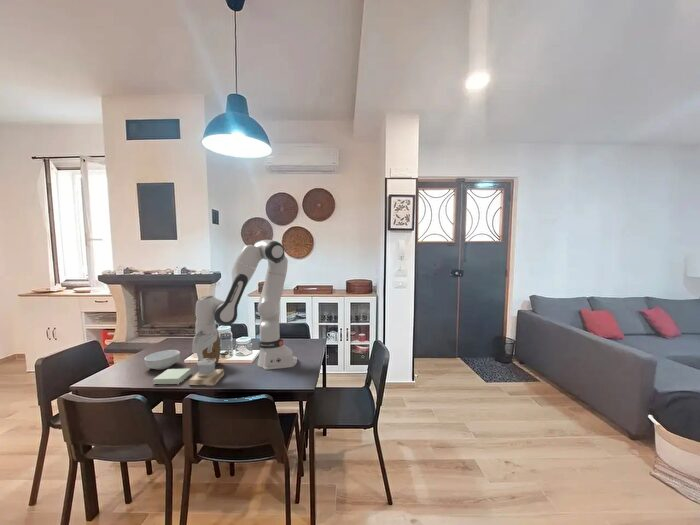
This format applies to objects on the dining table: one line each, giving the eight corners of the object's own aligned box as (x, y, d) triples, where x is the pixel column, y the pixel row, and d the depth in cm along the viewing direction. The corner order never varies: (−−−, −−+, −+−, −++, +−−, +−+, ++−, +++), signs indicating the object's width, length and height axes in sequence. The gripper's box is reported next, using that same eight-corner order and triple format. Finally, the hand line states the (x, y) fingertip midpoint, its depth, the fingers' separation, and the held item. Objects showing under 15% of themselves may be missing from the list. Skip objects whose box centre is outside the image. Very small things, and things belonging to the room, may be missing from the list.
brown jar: (221, 362, 168) (220, 329, 167) (213, 367, 160) (212, 332, 159) (204, 362, 169) (203, 328, 168) (195, 367, 161) (194, 332, 161)
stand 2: (223, 374, 151) (223, 369, 151) (214, 385, 139) (214, 379, 139) (200, 375, 151) (200, 369, 151) (189, 386, 139) (188, 379, 139)
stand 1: (191, 374, 152) (190, 368, 152) (178, 384, 140) (178, 378, 140) (167, 374, 152) (167, 369, 152) (153, 385, 140) (153, 379, 140)
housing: (216, 371, 148) (216, 358, 147) (211, 376, 142) (211, 362, 142) (202, 372, 147) (202, 358, 147) (197, 376, 142) (196, 362, 142)
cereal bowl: (170, 359, 174) (170, 347, 174) (186, 364, 165) (185, 352, 165) (138, 369, 159) (138, 356, 159) (153, 375, 151) (153, 362, 151)
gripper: (202, 334, 133) (202, 363, 134) (219, 323, 154) (219, 349, 154) (188, 334, 133) (188, 363, 134) (207, 323, 154) (207, 349, 154)
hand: (205, 355), depth 144 cm, fingers open, 8 cm apart
